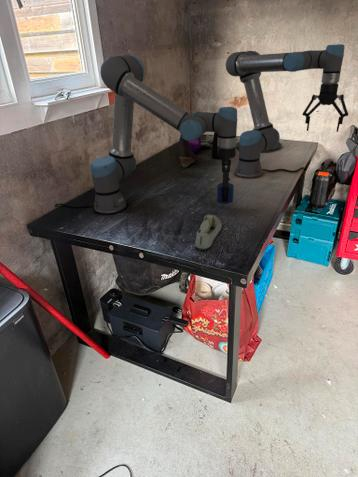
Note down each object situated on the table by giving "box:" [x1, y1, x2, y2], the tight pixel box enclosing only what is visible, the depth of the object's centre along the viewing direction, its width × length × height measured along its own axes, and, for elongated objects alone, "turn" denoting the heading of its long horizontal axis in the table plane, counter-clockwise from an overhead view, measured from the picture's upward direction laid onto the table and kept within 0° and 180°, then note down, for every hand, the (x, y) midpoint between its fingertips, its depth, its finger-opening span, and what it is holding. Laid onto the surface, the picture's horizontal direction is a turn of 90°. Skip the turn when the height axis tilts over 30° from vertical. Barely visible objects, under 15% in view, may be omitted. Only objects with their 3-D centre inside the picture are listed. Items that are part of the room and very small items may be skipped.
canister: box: [216, 182, 235, 205], centre depth 147 cm, size 7×7×7 cm
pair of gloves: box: [199, 134, 214, 149], centre depth 251 cm, size 30×26×5 cm
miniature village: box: [235, 141, 282, 154], centre depth 237 cm, size 32×35×9 cm
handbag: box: [211, 132, 224, 160], centre depth 219 cm, size 21×9×25 cm, turn 148°
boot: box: [178, 134, 197, 169], centre depth 209 cm, size 9×24×20 cm, turn 168°
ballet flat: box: [194, 214, 223, 251], centre depth 128 cm, size 8×24×8 cm, turn 163°
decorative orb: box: [178, 136, 201, 154], centre depth 230 cm, size 15×15×15 cm
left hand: (225, 197), depth 148 cm, fingers closed on canister, 7 cm apart
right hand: (322, 130), depth 162 cm, fingers open, 13 cm apart
